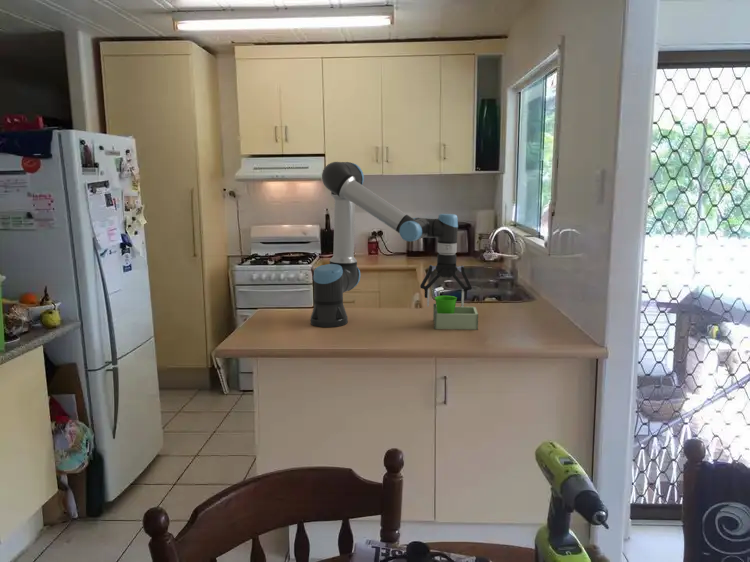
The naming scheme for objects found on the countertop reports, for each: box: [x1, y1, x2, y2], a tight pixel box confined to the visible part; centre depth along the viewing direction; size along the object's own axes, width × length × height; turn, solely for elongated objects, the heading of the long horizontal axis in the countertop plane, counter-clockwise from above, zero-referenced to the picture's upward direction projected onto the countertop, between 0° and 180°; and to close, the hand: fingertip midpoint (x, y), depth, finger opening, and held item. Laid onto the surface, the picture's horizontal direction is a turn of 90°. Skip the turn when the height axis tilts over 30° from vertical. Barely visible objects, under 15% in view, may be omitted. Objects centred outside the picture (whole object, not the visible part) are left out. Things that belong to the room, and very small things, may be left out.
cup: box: [433, 295, 458, 314], centre depth 235 cm, size 9×9×11 cm
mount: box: [432, 303, 479, 331], centre depth 235 cm, size 17×14×7 cm
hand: (445, 306), depth 235 cm, fingers open, 13 cm apart
